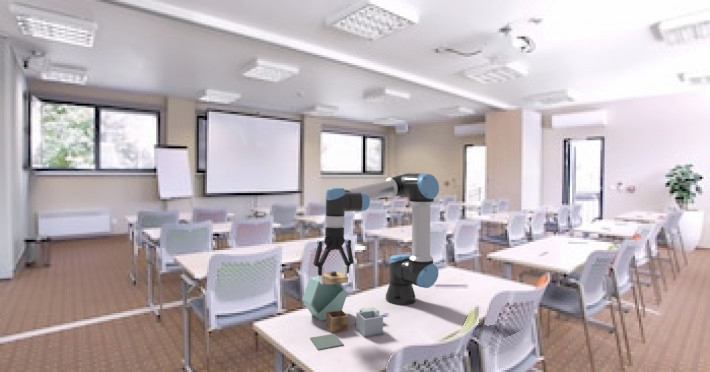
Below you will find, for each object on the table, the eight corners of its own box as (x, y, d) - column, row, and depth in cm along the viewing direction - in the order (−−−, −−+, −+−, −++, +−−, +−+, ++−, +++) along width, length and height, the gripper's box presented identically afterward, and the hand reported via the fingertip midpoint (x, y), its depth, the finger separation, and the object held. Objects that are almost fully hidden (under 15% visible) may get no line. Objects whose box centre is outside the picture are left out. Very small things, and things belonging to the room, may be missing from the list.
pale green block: (373, 318, 163) (373, 307, 163) (379, 322, 158) (379, 310, 158) (359, 320, 159) (359, 309, 159) (364, 325, 155) (364, 313, 155)
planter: (326, 329, 161) (304, 295, 153) (317, 323, 167) (295, 290, 159) (352, 302, 169) (332, 268, 162) (343, 297, 175) (323, 264, 168)
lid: (340, 276, 152) (340, 268, 152) (348, 282, 144) (348, 274, 144) (319, 278, 149) (319, 270, 149) (326, 284, 141) (326, 275, 141)
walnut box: (341, 324, 155) (341, 310, 155) (347, 330, 149) (348, 315, 149) (325, 326, 152) (326, 312, 152) (331, 333, 146) (331, 318, 146)
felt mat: (334, 334, 145) (334, 333, 145) (343, 345, 136) (343, 344, 136) (309, 338, 141) (309, 337, 141) (317, 350, 132) (317, 349, 132)
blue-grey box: (373, 326, 153) (373, 310, 153) (382, 334, 146) (382, 316, 146) (356, 329, 150) (356, 312, 150) (364, 337, 143) (364, 319, 142)
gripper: (356, 224, 154) (354, 277, 154) (305, 225, 145) (304, 282, 146) (363, 226, 147) (361, 282, 147) (311, 228, 138) (309, 287, 139)
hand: (333, 282), depth 146 cm, fingers closed on lid, 9 cm apart
